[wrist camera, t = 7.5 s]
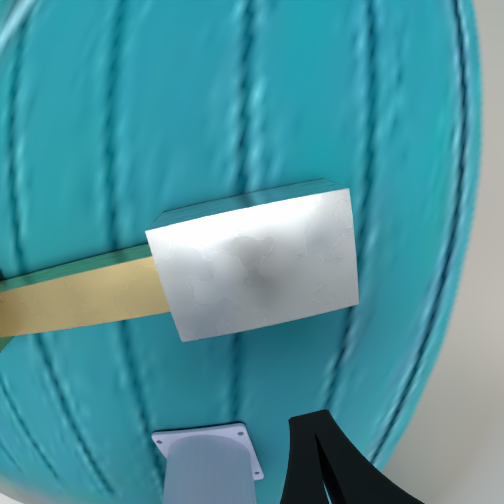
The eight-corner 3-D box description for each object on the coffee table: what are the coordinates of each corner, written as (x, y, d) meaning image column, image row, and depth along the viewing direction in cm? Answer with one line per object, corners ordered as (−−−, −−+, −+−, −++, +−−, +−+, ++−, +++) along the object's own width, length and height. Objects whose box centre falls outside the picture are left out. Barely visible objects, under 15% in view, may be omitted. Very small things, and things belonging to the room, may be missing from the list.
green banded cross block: (190, 299, 18) (175, 370, 12) (-25, 334, 18) (-65, 377, 12) (168, 223, 17) (137, 268, 11) (-47, 285, 16) (-94, 321, 10)
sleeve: (334, 273, 19) (359, 303, 15) (189, 304, 19) (182, 342, 15) (322, 178, 17) (349, 188, 13) (162, 212, 17) (145, 231, 13)
